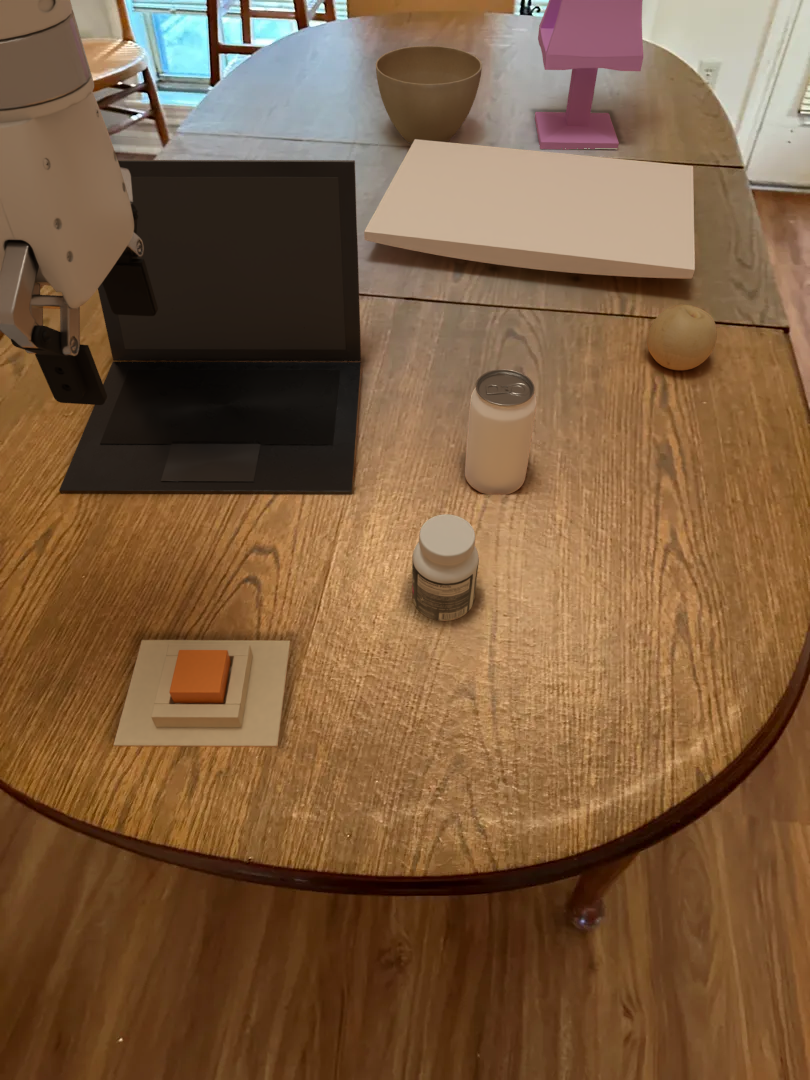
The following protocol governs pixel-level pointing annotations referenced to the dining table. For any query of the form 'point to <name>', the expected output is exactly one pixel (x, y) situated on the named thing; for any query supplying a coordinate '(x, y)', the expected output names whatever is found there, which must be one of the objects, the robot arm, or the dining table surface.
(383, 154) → the dining table surface
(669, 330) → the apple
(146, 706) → the stepped tan base
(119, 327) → the laptop screen
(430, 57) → the flower pot
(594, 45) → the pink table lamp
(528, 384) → the can
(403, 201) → the board
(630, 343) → the dining table surface
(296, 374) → the laptop
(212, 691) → the push button
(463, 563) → the pill bottle
